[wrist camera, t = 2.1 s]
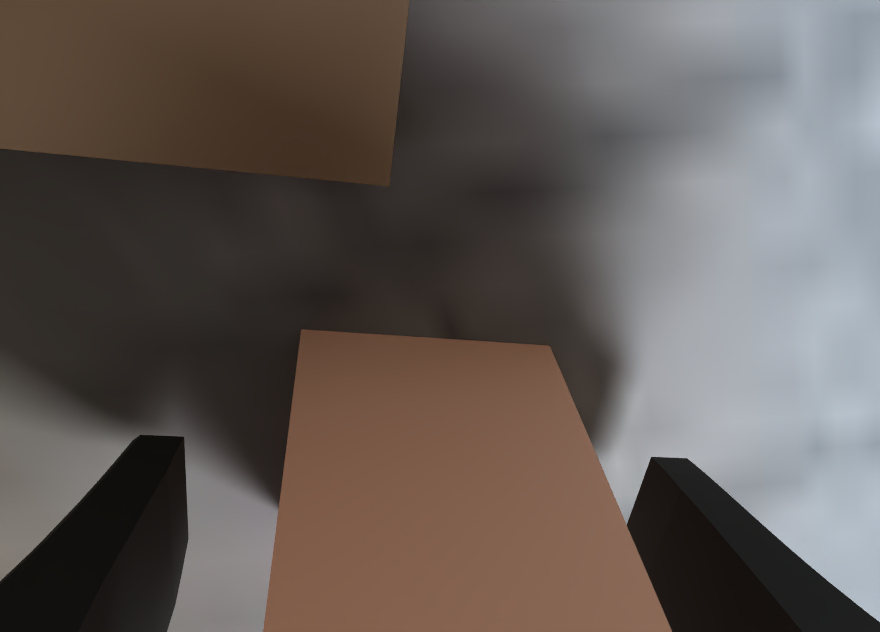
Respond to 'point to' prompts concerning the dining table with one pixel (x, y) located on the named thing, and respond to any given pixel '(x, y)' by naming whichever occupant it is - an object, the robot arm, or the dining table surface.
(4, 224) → the dining table surface
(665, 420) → the dining table surface
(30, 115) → the peg stand
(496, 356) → the pink block
